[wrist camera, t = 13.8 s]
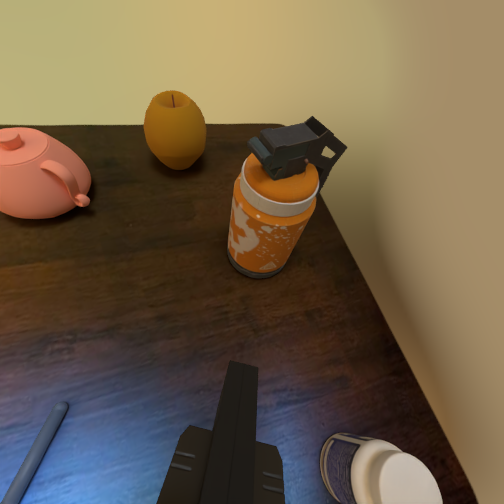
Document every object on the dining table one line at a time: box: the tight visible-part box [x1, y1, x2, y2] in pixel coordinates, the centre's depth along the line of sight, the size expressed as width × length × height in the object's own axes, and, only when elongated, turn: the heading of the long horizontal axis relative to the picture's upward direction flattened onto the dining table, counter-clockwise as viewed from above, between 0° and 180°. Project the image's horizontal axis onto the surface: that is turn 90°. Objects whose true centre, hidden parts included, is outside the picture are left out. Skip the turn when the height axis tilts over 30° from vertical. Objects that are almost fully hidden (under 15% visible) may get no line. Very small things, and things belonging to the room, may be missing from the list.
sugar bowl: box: [0, 127, 91, 219], centre depth 33 cm, size 12×14×10 cm
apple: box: [144, 91, 206, 170], centre depth 40 cm, size 10×10×12 cm
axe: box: [1, 402, 68, 504], centre depth 21 cm, size 13×4×1 cm, turn 168°
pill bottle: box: [320, 433, 443, 504], centre depth 21 cm, size 6×6×10 cm
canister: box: [227, 116, 347, 278], centre depth 29 cm, size 9×11×20 cm
